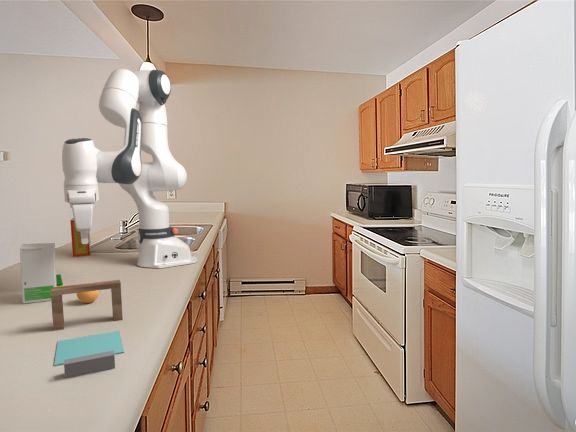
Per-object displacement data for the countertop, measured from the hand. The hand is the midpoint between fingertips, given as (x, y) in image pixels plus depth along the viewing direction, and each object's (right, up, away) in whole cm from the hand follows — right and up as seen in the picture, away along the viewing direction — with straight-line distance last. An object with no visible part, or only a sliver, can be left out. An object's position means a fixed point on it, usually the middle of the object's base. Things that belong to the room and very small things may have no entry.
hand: (85, 243), depth 117 cm
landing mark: (+18, -19, -35) cm, 44 cm away
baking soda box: (-31, -9, +59) cm, 68 cm away
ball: (+4, -13, -7) cm, 15 cm away
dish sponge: (-16, -15, +10) cm, 24 cm away
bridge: (+12, -18, -22) cm, 30 cm away
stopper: (+23, -20, -45) cm, 54 cm away
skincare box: (-11, -16, -3) cm, 19 cm away
